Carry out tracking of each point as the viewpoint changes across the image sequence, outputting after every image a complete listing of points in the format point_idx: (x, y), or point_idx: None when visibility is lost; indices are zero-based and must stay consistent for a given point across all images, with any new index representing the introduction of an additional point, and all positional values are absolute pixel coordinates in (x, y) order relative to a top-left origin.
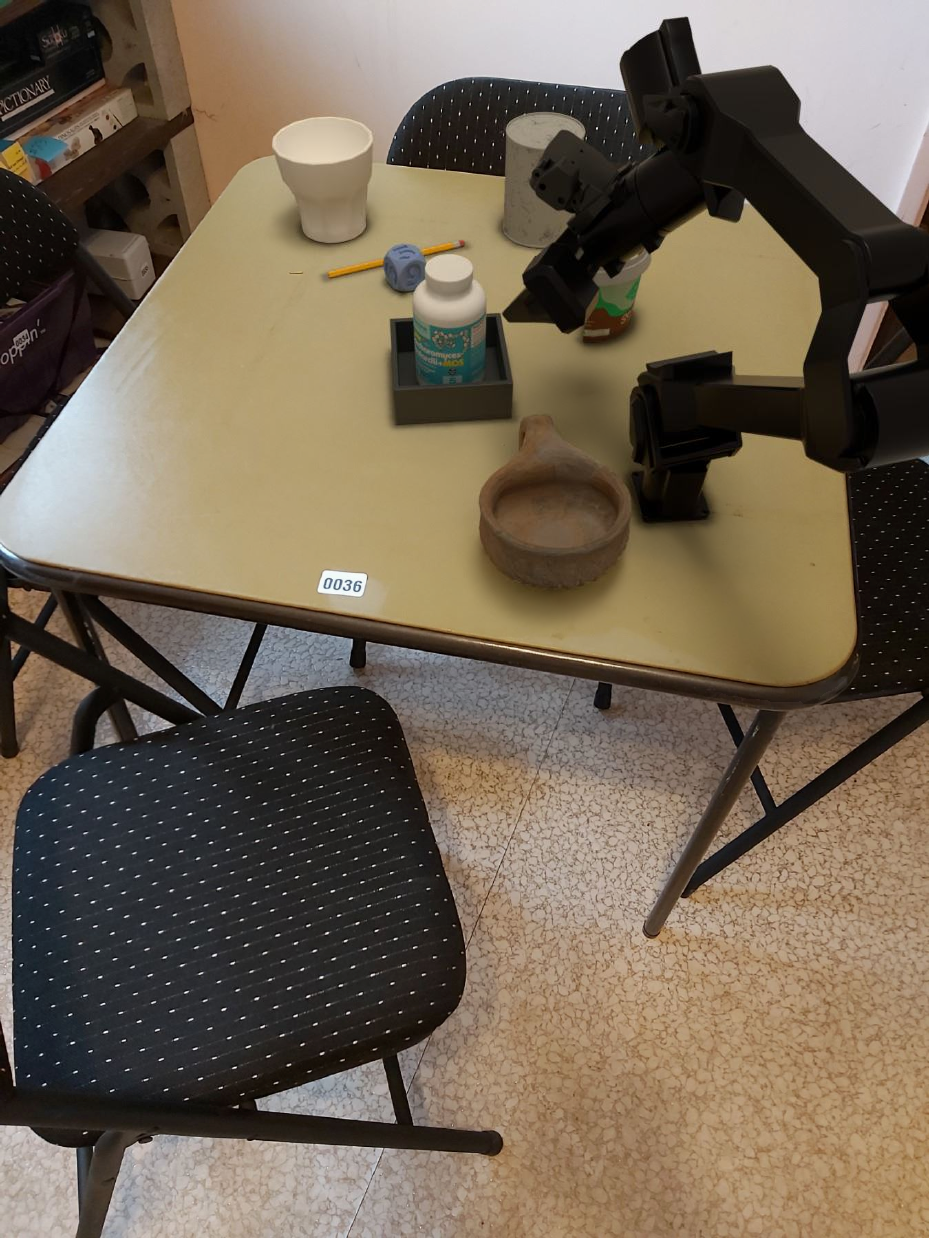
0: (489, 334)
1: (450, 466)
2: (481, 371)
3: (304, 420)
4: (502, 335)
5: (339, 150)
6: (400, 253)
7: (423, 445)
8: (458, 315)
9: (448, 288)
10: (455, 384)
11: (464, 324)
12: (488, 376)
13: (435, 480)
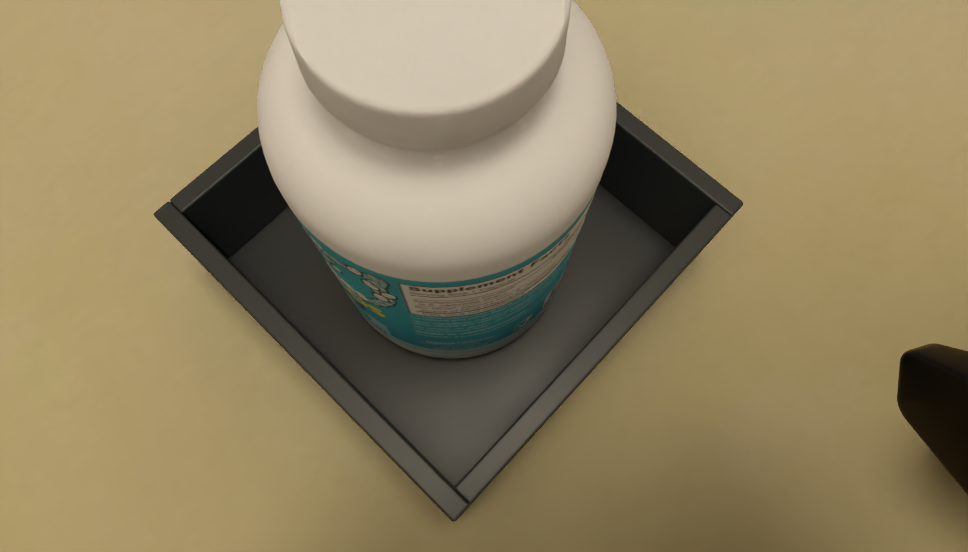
0: (677, 219)
1: (150, 518)
2: (483, 343)
3: (82, 71)
4: (648, 295)
5: None
6: None
7: (183, 386)
8: (330, 224)
9: (317, 92)
10: (308, 353)
11: (358, 263)
12: (554, 329)
13: (70, 526)
